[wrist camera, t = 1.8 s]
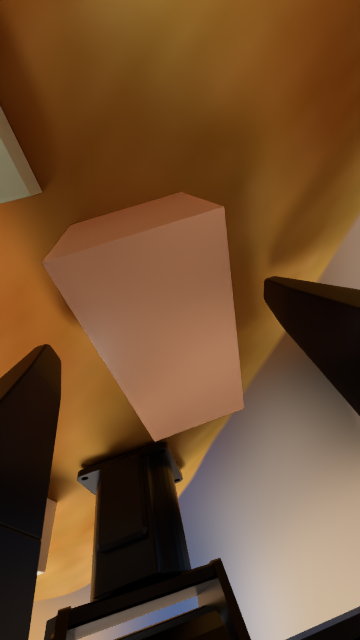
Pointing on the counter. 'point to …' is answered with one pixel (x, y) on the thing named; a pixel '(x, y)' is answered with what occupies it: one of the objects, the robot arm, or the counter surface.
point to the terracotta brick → (157, 307)
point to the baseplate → (14, 167)
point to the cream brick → (46, 535)
